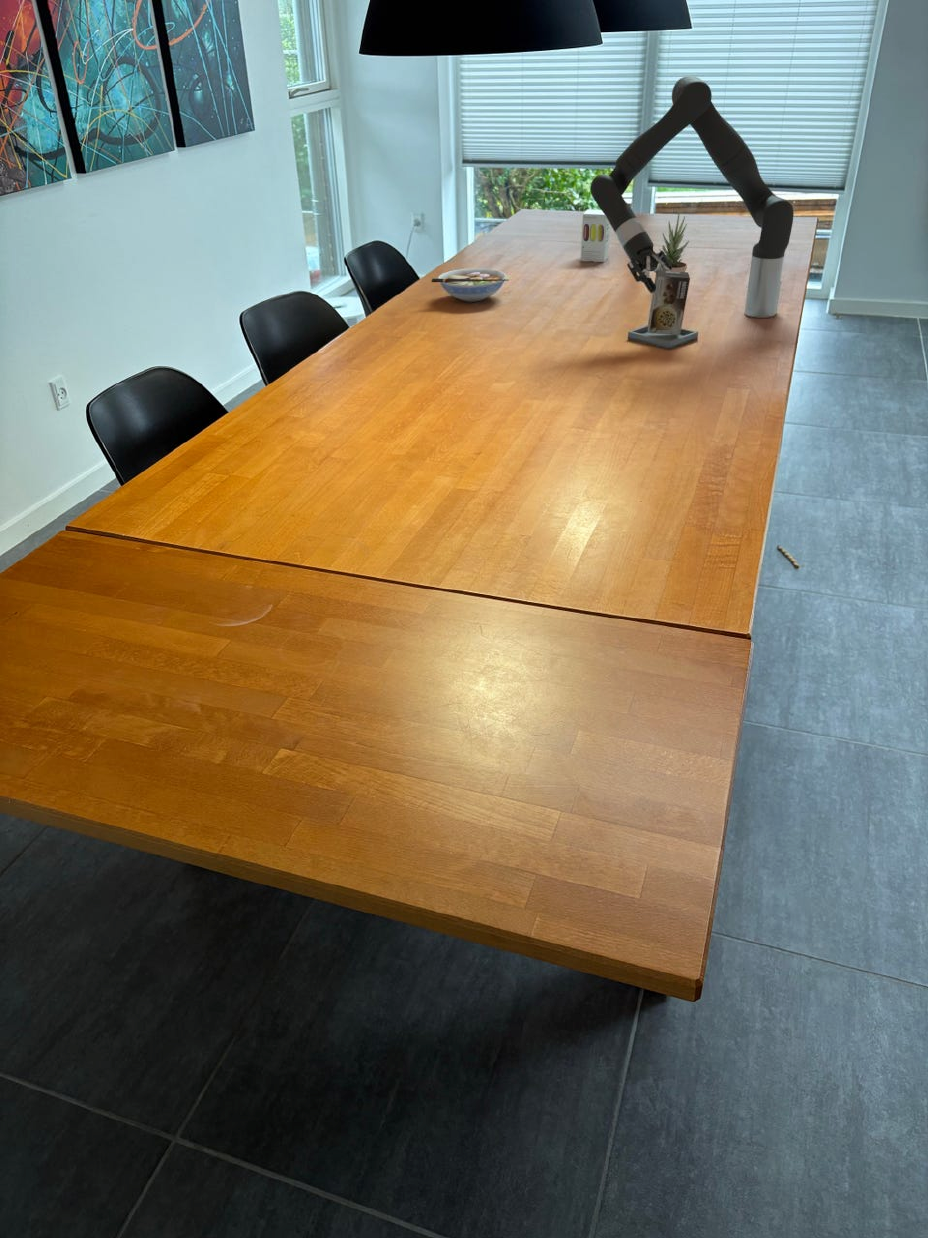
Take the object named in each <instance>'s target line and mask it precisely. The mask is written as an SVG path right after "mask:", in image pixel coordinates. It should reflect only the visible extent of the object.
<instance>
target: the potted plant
mask: <svg viewBox="0 0 928 1238" xmlns="http://www.w3.org/2000/svg"><path fill="white" fill-rule="evenodd" d="M680 212H681V208H679V209H678V214H677V219H676V225H675V230H674V229H673V228H671V223H670V221H668V239H667V238H666V236H665V234H664V233H662V236H663V240H664V243H665V245H664V244H662V250H661V249H659V252H660V251H663V252H664V253H665V255H666V256H667V258H668V260H669V261H670V263H671V265H672V266H673V268H672V269H671V270H670V271H677V272H687V268H688V264H687V263H686V262H684V261H683V262H682V260H683V259H682V258H681V256H682V254H683V251H684V250H685V248H686V247H687V245H688V244H689V242H690V241H689V240H688V241H687V242H685V244H684V245H682V246H681V247H679V246H680V244H681V242H682V240H683V239H684V235H685V234H684V232H685V230H686V227H687V225H688V223H686V224H685V226H684V222H685V219H686V215H685V216H684V217H683V219H682V221H681V223H680V214H681V213H680ZM679 223H680V224H679ZM679 225H680V226H679ZM682 228H683V229H682ZM668 240H669V241H668ZM665 246H666V247H665ZM679 259H680V260H679ZM665 266H666V267H668V266H667V264H665ZM661 270H663V269H661Z"/></svg>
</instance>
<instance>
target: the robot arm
mask: <svg viewBox="0 0 928 1238" xmlns="http://www.w3.org/2000/svg"><path fill="white" fill-rule="evenodd" d="M712 96H713V95H712V90H711V87H710V86H709V85H708V84H707V82H705V81H704V80H702V79H701V78H699V77H697V76H694V75H693V76H692V75H686V76H682V78H680V79H678V80H677V81H676V82H675V84H674V86H673V88H672V91H671V101H672V106H671V107H670V108H669V109H668V111H667V112H666V113H665V114H663V116H662V117H661V118H660V119H659V120H658V121H656V122H655V123H654V124H653V125H652V126H651V127H649V128H647V130H645V131H644V132H643V133H642V134H640V135H639V136H638V137H636V139H634V140H633V141H632V142H631V143H630V144H629V145H628V146H627V147H626V149H624V151H623V152H622V153H621V154H619V156H618V157H617V159H616V160H615V164H614V168H613V169H612V170H611V172H610V173H609V175H608V174H605V173H603V174H602V173H601V174H598V175H596V176H594V178H593V179H592V181H591V182H590V194H591V197H592V198H593V200H594V201H595V203H596V204H597V206H598V207H599V210H602V211H603V213H604V214H605V215H606V217H607V219H608V221H609V223H610V227H611V228H612V230H613V232H614V233H615V235H616V237H617V241H618V242H619V243H620V245H621V247H622V249H623V250H624V252H625V254H626V256H627V257H628V259H629V262H628V263H627V264H626V265H627V267H628V269H629V271H630V274H632V276H633V278H634V280H635V281H636V283H639V282H641V283H643V284H644V286H645V288H646V289H647V291H648V292H649V293H650V294H653V292H654V291H655V290H656V286H655V284H654V283H655V281H653V279H652V278H651V276H650V272H654V273H655V274H656V271H657V270H661V269H663V271H670V270H671V269H672V268H673V266H672V265H671V263H670V261H669V260H668V258H667V256H666V253H665V252H664V250H661V251H660V250H659V252H658V253H656V252H655V251H654V242H653V240H652V239H651V238H650V236H649V234H648V233H647V231H646V229H645V228H644V226H643V224H642V223H641V221H639V219H638V217H637V216H636V214H635V212H634V211H633V209H632V208H631V206H630V205H629V204H628V202H626V201H625V199H624V197H623V195H624V193H625V192H626V191H627V189H628V187H630V184H631V183H632V181H633V179H634V178H636V177H637V175H638V174H640V172H641V171H643V169H644V168H645V167H646V166H647V165H648V164H649V163H650V162H651V161H652V160H653V158H655V156H656V155H657V154H659V152H660V151H661V150H663V148H664V147H666V145H667V144H669V143H670V142H671V141H672V140H673V139H675V138H676V137H677V136H678V134H680V133H681V132H682V131H683V130H684V129H686V128H687V127H688V126H691V128H692V129H693V130H694V131H695V133H696V134H697V136H698V137H699V139H700V141H701V143H702V145H703V146H704V148H705V150H706V152H707V153H708V155H709V157H710V158H711V160H712V161H713V163H714V165H715V166H716V167H717V168H718V170H719V172H720V173H721V174H722V176H723V177H724V178H725V180H726V181H727V182H728V183H729V185H730V186H731V187H732V188H733V190H734V191H735V192H736V193H737V194H738V195H739V197H740V198H741V200H742V201H743V203H744V205H745V207H746V208H747V211H748V212H749V215H750V216H751V218H752V219H753V221H754V223H755V224H756V226H757V227H759V228H760V236H759V241H758V242H756V243H755V244H754V245H753V247H752V253H751V260H750V268H749V276H748V283H747V284H748V285H747V291H746V298H745V299H746V300H745V304H744V305H745V307H744V315H745V316H747V317H751V318H760V319H765V318H772V317H774V316H775V315H776V313H778V306H779V299H780V292H781V287H782V281H781V280H782V272H783V266H784V265H783V264H784V258H785V252H786V250H787V248H788V246H789V243H790V239H791V233H792V228H793V223H794V216H795V215H794V213H795V211H794V208H793V205H792V203H790V201H788V199H787V200H786V199H784V198H782V197H780V196H777V195H776V194H775V193H774V192H773V191H772V190H771V189H770V188H769V187H768V185H766V182H765V181H764V180H763V178H762V176H761V174H760V172H759V171H760V170H759V168H758V164H757V160H756V158H755V156H754V154H753V152H752V151H751V149H750V148H749V146H748V145H747V143H746V142H745V140H744V139H743V138H742V137H741V135H740V134H739V133H738V131H736V130H735V128H734V127H733V126H732V125H731V124H730V123H729V122H728V121H727V120H726V119H725V118H724V117H723V116H722V115H721V114H720V113H719V111H718V110H717V108H716V107H715V105H714V103H713V102H712V99H713V98H712ZM665 264H667V266H668V267H666V266H665Z"/></svg>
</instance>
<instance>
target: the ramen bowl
mask: <svg viewBox="0 0 928 1238" xmlns="http://www.w3.org/2000/svg"><path fill="white" fill-rule="evenodd" d="M507 281H509V279H507V275H506V273H505V272H503V271H500V270H497V269H491V268H481V267H480V268H475V267H473V268H460V269H454V270H450V271H447V272H443V273H441V274H440V275H439V276H437V278H432V279H431V283H440V285H441V286H442V289H443V290H444V291H445V292H446V293H447V294H449V295H450V296H451V297H453V298H456V299H459V300H461V301H463V302H466V303H467V302H470V303H471V302H472V303H473V302H475V303H476V302H480V301H484V299H486V298H489V297H491V296H493V295H494V294H496V293H497V292H498V291H499V290H500V289H501V288H502V286H503V285H504V282H507Z"/></svg>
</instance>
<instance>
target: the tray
mask: <svg viewBox="0 0 928 1238" xmlns="http://www.w3.org/2000/svg"><path fill="white" fill-rule="evenodd" d="M647 326H648V324H647V325H644V326H640V327H638V328H635V329H632V330H629V331H628V332H627V340H630V341H633V342H637V343H641V344H645V345H649V346H652V347H657V348H659V349H663V350H667V351H670V350H673V349H676V348H679V347H681V346H685V345H687V344H690V343H692V342H695V341H697V340H698V338H699V331H696V330H691V329H688V328H683V327H681V332H680V335H669V334H656V333H649V332H648V327H647Z"/></svg>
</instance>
